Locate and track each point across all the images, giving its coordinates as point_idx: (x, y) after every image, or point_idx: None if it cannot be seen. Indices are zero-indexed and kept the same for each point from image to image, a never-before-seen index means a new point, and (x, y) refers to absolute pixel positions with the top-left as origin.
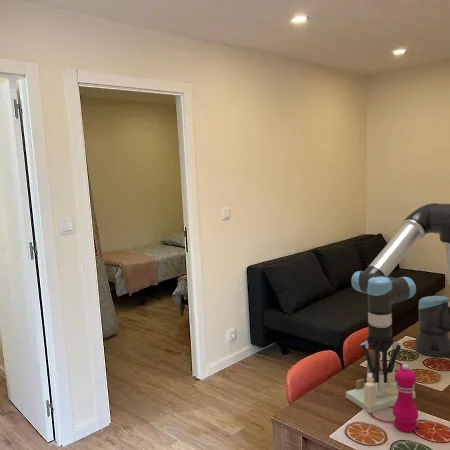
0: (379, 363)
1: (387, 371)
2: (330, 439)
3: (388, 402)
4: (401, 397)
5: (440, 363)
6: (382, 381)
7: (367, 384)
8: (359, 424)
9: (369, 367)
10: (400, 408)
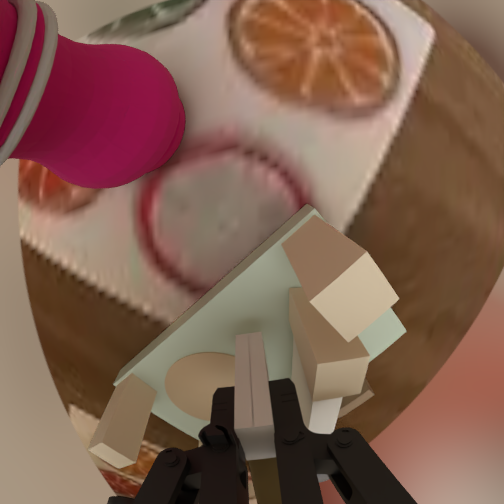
0: (257, 495)
1: (202, 457)
2: (425, 14)
3: (213, 296)
4: (68, 39)
5: (116, 485)
6: (244, 386)
7: (377, 290)
8: (351, 97)
9: (373, 457)
10: (117, 45)
